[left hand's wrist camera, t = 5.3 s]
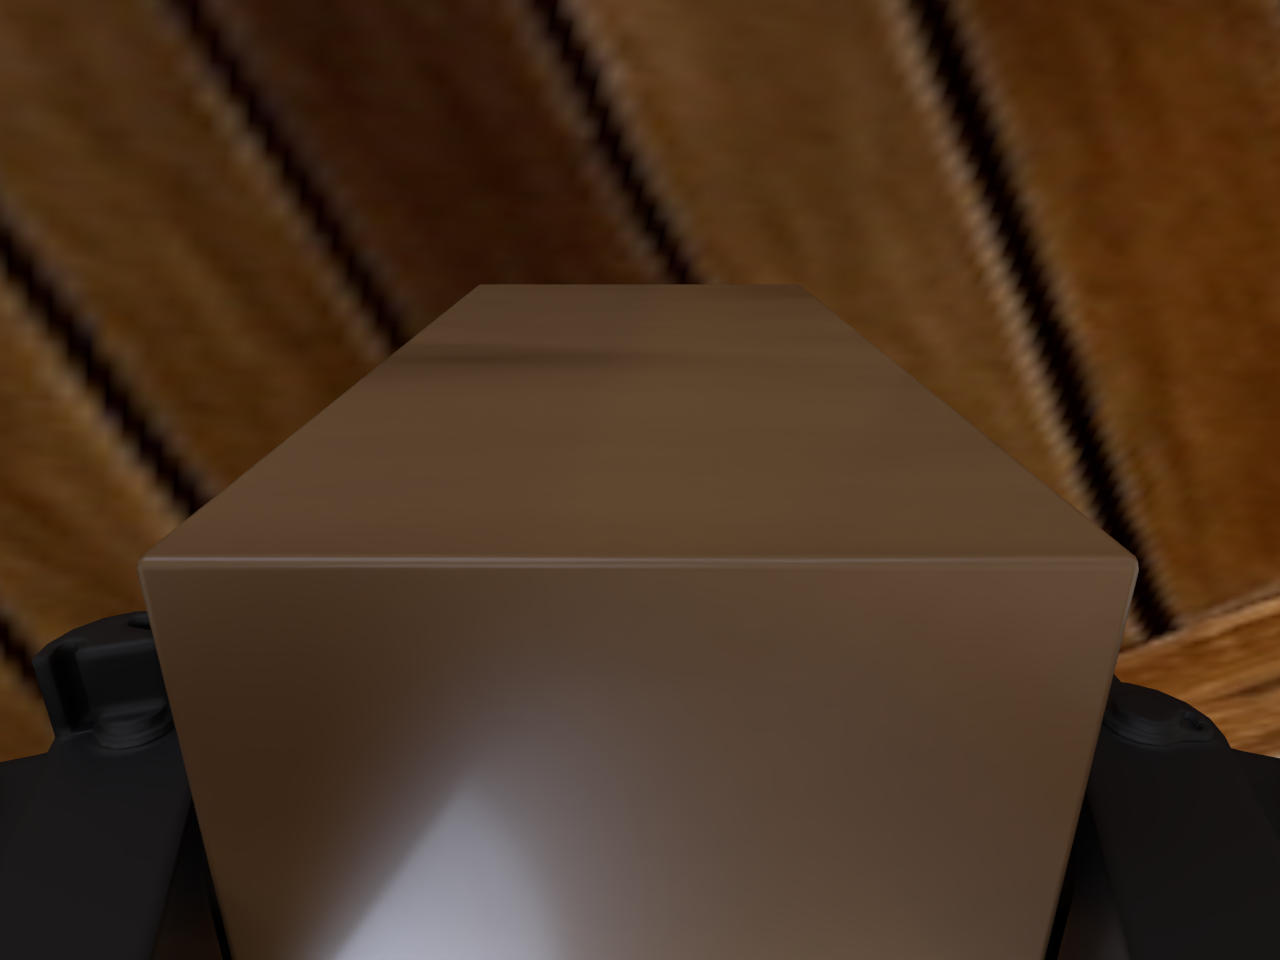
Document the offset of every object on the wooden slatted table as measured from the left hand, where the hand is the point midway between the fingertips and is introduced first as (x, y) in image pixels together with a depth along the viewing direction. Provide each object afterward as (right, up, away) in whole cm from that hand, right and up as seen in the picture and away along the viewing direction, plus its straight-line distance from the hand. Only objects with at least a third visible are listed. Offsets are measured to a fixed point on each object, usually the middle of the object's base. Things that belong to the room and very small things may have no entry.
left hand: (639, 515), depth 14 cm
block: (0, +1, +2) cm, 3 cm away
